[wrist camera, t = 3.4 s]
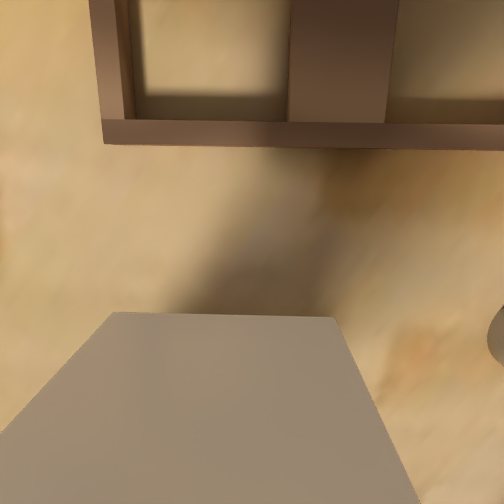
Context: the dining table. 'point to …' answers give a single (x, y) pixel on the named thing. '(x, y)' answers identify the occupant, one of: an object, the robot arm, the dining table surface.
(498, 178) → the dining table surface
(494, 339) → the salt cellar
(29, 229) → the dining table surface
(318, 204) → the dining table surface
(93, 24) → the walnut caddy
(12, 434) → the white rounded cube
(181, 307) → the dining table surface
